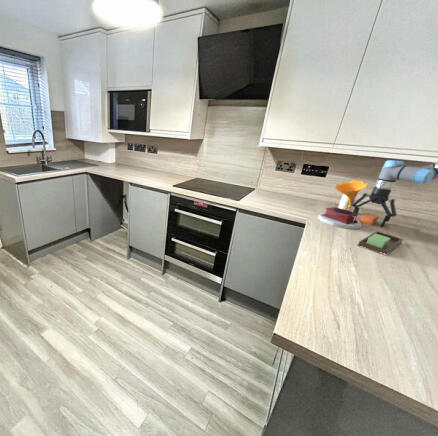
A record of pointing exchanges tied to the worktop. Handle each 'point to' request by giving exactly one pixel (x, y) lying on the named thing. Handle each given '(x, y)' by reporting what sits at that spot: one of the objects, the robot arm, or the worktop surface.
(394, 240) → the frame
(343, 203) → the aerosol can
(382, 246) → the pad
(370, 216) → the pad
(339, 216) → the gramophone
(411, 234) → the worktop surface
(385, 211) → the robot arm
